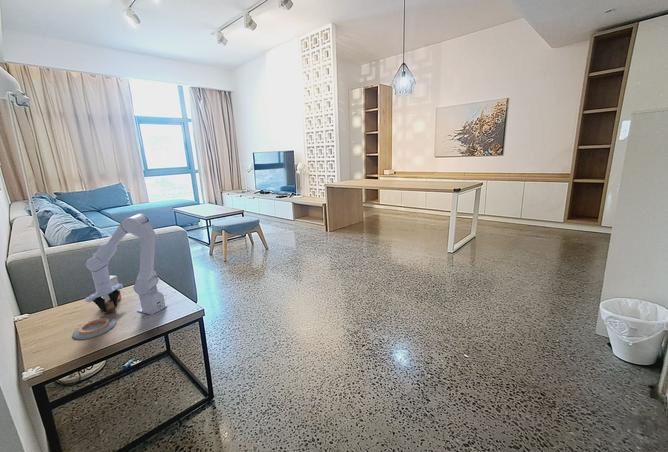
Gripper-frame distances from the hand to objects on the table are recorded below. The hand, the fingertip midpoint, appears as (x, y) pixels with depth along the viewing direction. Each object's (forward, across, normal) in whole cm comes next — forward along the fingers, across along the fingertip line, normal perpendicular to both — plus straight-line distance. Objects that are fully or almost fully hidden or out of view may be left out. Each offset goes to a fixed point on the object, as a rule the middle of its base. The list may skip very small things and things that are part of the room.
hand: (109, 309), depth 131 cm
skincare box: (+2, -8, -10) cm, 13 cm away
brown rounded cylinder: (+1, 0, 0) cm, 1 cm away
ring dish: (+1, +11, +8) cm, 14 cm away
